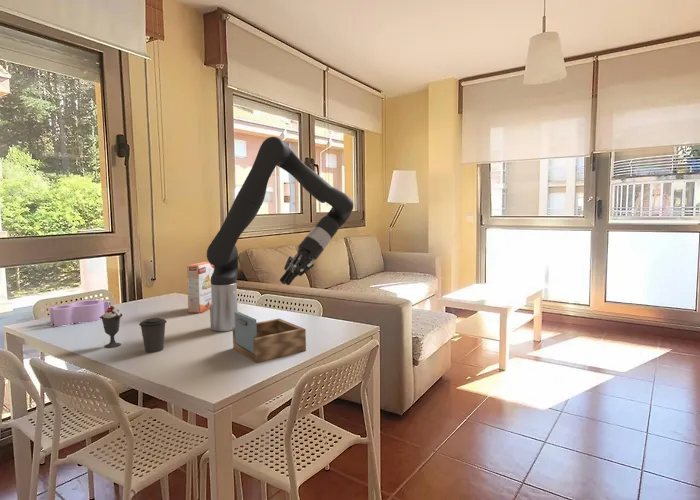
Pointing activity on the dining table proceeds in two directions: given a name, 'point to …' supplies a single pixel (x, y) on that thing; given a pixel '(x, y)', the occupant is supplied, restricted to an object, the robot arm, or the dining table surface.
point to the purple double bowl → (78, 312)
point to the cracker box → (199, 286)
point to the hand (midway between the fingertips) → (284, 282)
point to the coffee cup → (153, 334)
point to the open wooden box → (274, 340)
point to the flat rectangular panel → (245, 331)
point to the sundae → (111, 325)
